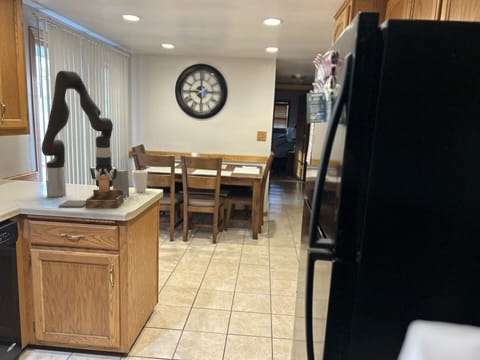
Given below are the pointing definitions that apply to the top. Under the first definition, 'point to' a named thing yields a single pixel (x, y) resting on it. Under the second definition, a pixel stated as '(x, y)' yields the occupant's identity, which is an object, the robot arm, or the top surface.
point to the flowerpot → (103, 183)
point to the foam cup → (140, 180)
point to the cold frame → (105, 199)
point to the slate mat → (73, 204)
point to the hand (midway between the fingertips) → (104, 186)
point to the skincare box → (121, 182)
